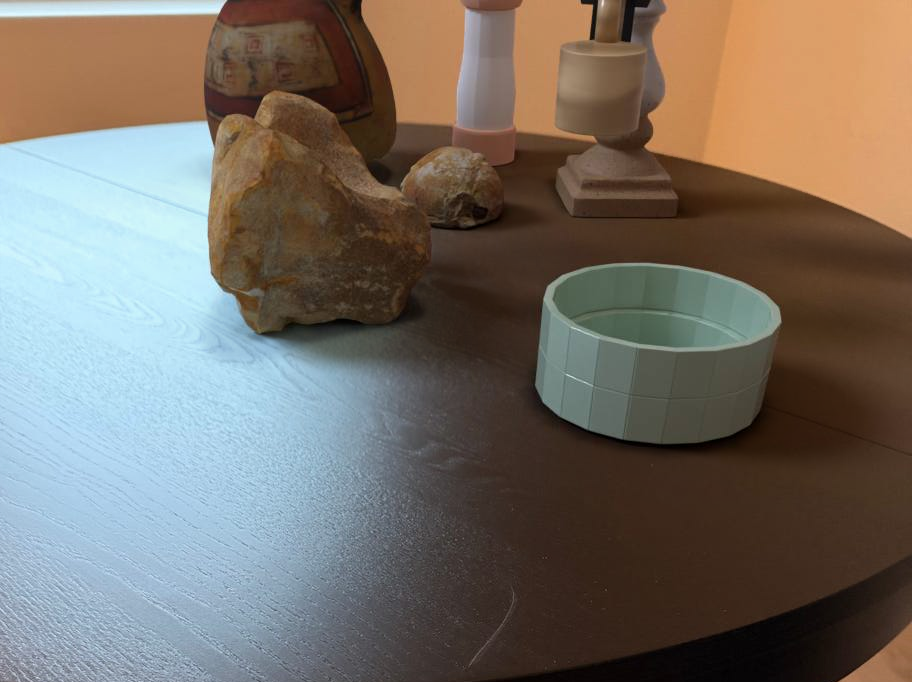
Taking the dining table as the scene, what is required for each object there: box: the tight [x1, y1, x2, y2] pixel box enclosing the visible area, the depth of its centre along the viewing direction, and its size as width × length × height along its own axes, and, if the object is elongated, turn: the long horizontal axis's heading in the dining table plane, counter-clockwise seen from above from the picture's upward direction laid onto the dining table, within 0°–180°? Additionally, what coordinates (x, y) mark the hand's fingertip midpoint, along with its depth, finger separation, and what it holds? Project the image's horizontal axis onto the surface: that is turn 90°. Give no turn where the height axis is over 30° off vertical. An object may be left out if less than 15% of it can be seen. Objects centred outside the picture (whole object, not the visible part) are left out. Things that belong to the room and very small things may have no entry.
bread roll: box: [400, 145, 505, 230], centre depth 102 cm, size 10×10×8 cm
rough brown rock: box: [207, 91, 433, 335], centre depth 79 cm, size 23×17×15 cm
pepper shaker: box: [451, 0, 524, 167], centre depth 114 cm, size 7×7×19 cm
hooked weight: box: [553, 0, 647, 137], centre depth 78 cm, size 22×6×9 cm, turn 169°
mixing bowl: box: [534, 262, 783, 445], centre depth 69 cm, size 15×15×7 cm
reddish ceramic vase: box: [203, 0, 398, 165], centre depth 104 cm, size 20×20×30 cm
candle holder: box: [555, 0, 679, 218], centre depth 101 cm, size 11×11×24 cm
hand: (608, 52), depth 84 cm, fingers closed on hooked weight, 2 cm apart
